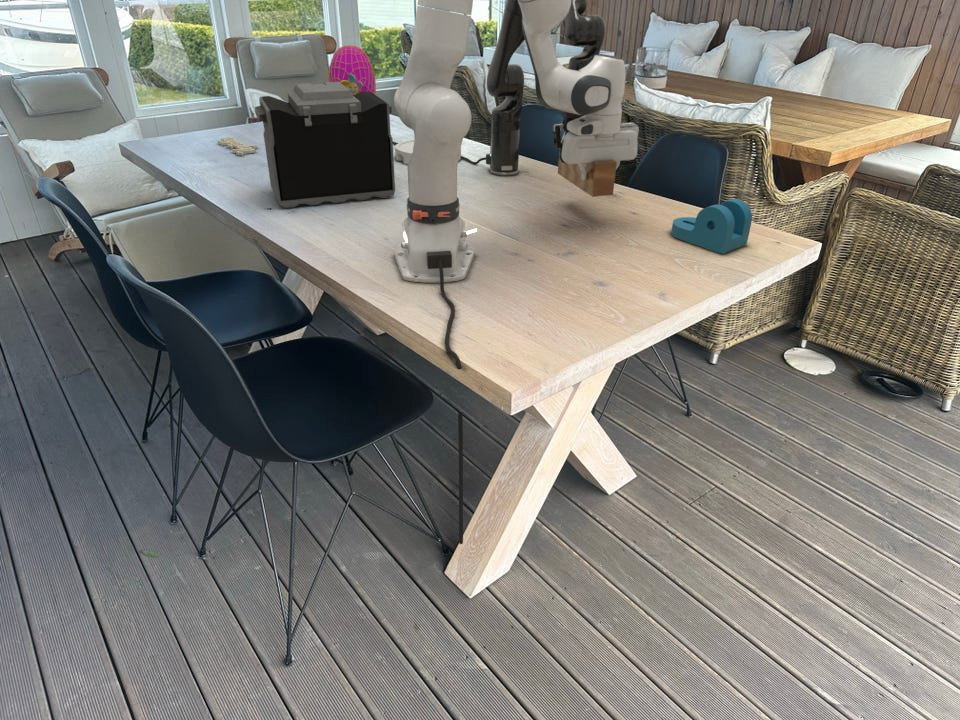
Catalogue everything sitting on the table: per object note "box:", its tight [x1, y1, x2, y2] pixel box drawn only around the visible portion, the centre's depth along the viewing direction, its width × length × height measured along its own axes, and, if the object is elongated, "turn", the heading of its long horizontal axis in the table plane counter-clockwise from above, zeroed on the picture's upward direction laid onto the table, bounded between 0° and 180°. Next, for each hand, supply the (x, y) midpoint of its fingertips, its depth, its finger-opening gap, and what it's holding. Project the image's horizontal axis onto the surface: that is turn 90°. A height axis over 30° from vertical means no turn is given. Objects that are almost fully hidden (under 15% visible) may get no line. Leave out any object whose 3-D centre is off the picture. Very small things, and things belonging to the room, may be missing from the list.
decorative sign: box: [217, 136, 259, 156], centre depth 254 cm, size 26×1×10 cm
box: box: [557, 148, 617, 198], centre depth 186 cm, size 22×6×9 cm, turn 18°
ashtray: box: [394, 138, 462, 165], centre depth 243 cm, size 23×23×4 cm
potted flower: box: [340, 73, 363, 96], centre depth 255 cm, size 9×8×25 cm
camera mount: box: [670, 198, 753, 255], centre depth 173 cm, size 18×10×10 cm, turn 39°
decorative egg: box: [328, 44, 377, 96], centre depth 286 cm, size 19×19×30 cm
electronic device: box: [254, 81, 396, 209], centre depth 199 cm, size 37×22×30 cm, turn 111°
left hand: (597, 178), depth 180 cm, fingers closed on box, 6 cm apart
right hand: (574, 161), depth 192 cm, fingers closed on box, 6 cm apart
